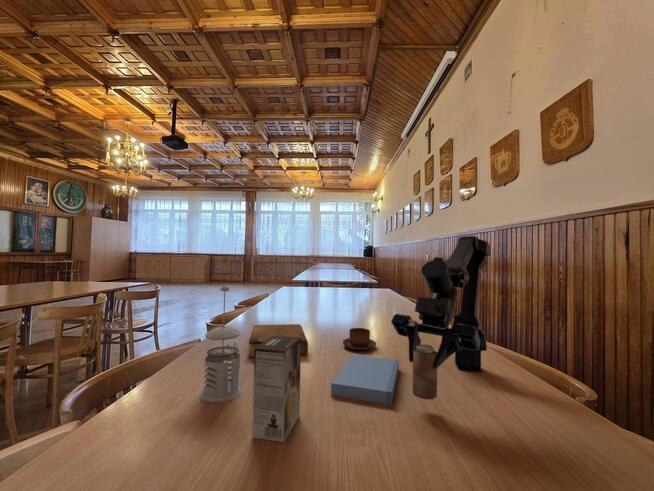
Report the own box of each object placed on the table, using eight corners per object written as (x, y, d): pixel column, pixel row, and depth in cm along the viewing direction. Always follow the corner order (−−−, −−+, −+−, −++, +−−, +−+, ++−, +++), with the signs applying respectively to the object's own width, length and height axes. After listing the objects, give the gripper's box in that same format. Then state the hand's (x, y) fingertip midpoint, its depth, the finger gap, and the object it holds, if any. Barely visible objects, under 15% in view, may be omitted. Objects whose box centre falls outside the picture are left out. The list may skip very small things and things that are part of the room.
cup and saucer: (344, 341, 115) (344, 325, 115) (375, 343, 113) (376, 327, 113) (341, 351, 103) (341, 333, 103) (376, 354, 101) (376, 335, 101)
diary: (307, 357, 97) (308, 339, 97) (248, 360, 94) (248, 341, 94) (301, 338, 120) (301, 323, 120) (253, 339, 116) (253, 324, 116)
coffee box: (270, 412, 62) (272, 334, 63) (300, 416, 61) (302, 336, 62) (250, 438, 53) (253, 347, 54) (284, 443, 52) (287, 350, 53)
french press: (231, 379, 78) (234, 283, 79) (254, 395, 70) (257, 287, 70) (192, 391, 71) (196, 285, 72) (213, 410, 63) (217, 290, 63)
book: (398, 370, 88) (398, 359, 88) (391, 406, 66) (392, 392, 67) (351, 364, 92) (351, 354, 92) (330, 396, 71) (331, 382, 71)
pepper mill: (436, 390, 66) (436, 344, 66) (437, 401, 61) (438, 351, 62) (412, 387, 68) (413, 342, 68) (412, 397, 63) (412, 349, 63)
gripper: (395, 280, 74) (370, 334, 66) (477, 287, 62) (460, 354, 53) (408, 308, 80) (388, 361, 71) (486, 319, 68) (472, 384, 59)
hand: (422, 364), depth 64 cm, fingers closed on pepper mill, 5 cm apart
